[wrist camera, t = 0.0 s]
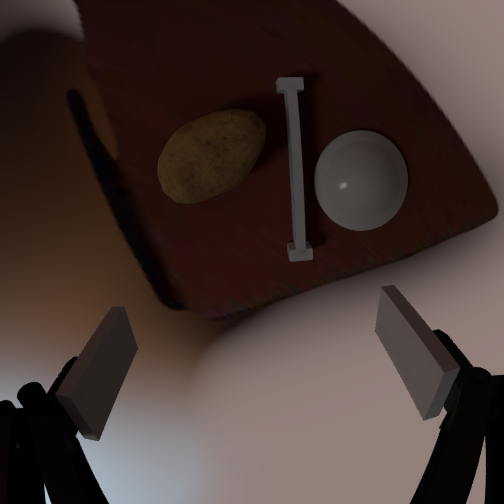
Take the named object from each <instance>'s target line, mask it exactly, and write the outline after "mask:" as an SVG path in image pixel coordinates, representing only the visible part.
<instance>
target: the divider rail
mask: <svg viewBox="0 0 504 504" xmlns="http://www.w3.org/2000/svg"><path fill="white" fill-rule="evenodd" d="M276 87H277V94H279V93H284V99H285V110H286V122H287V135H288V149H289V164H290V180H291V198H292V217H293V240H294V242H289V243H287V249H288V256H289V259H290V262H291V261H303V260H313V253H312V247H311V245H310V243H309V241H306V240H305V209H304V186H303V167H302V151H301V136H300V122H299V110H298V98H297V93H300V92H302V91H303V90H304V83H303V77H289V78H278V79H277V81H276Z"/></svg>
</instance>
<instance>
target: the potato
mask: <svg viewBox="0 0 504 504" xmlns="http://www.w3.org/2000/svg"><path fill="white" fill-rule="evenodd" d="M265 141H266V124H265V123H264V122H263V121H262V120H261V119H260V118H259V117H258V116H257V115H256V114H255V113H254V112H253V111H250V110H242V109H233V108H231V109H226V110H221V111H217V112H213V113H211V114H208V115H206V116H203V117H200V118H198V119H196V120H194V121H192V122H190V123H188V124H186V125H184V126H183V127H181V128H180V129H178V130H177V131H175V132H174V134H173V135H172V136H171V138H170V139H169V140H168V142H167V143H166V145H165V147H164V149H163V151H162V153H161V155H160V157H159V159H158V174H157V175H158V178H159V181H160V183H161V186H162V189H163V191H164V192H165V193H166V194H167V195H168V196H170V197H171V198H172V199H173V200H174V201H175V202H177V203H191V204H194V203H197V202H200V201H204V200H207V199H209V198H212V197H214V196H216V195H219V194H221V193H223V192H226V191H229V190H231V189H234V188H236V187H237V186H238V185H239V184H240V183H241V182H243V181H244V180H245V179H246V178H247V176H248V174H249V173H250V171H251V169H252V168H253V166H254V164H255V162H256V161H257V159H258V157H259V156H260V154H261V151H262V148H263V146H264V143H265Z"/></svg>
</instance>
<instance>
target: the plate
mask: <svg viewBox="0 0 504 504" xmlns="http://www.w3.org/2000/svg"><path fill="white" fill-rule="evenodd" d="M407 187H408V173H407V168H406V164H405V161H404V159H403V157H402V155H401V153H400V151H399V150H398V149H397V147H396V146H395V145H394V144H393V143H392V142H391V141H390V140H388V139H387V138H385V137H384V136H382V135H380V134H378V133H375V132H371V131H363V130H360V131H351V132H347V133H344V134H342V135H340V136H338V137H336V138H335V139H333V140H332V141H331V142H330V143H329V144H328V145H327V146H326V147H325V148H324V150H323V151H322V153H321V154H320V156H319V158H318V160H317V163H316V166H315V171H314V190H315V194H316V197H317V200H318V202H319V204H320V206H321V208H322V209H323V211H324V212H325V213H326V214H327V215H328V216H329V217H330V219H332V220H333V221H334V222H335V223H337V224H339V225H340V226H342V227H345V228H347V229H351V230H357V231H364V230H370V229H374V228H377V227H379V226H381V225H383V224H385V223H386V222H388V221H389V220H390V219H391V218H392V217H393V216H394V215H395V214H396V213H397V212H398V210H399V209H400V207H401V205H402V203H403V201H404V199H405V196H406V192H407Z"/></svg>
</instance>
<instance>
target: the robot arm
mask: <svg viewBox="0 0 504 504" xmlns="http://www.w3.org/2000/svg"><path fill="white" fill-rule="evenodd" d="M375 332H376V334H377V335H378V337H379V339H380V341H381V342H382V344H383V346H384V347H385V349H386V351H387V353H388V355H389V356H390V358H391V360H392V362H393V364H394V366H395V367H396V369H397V371H398V373H399V375H400V377H401V378H402V380H403V382H404V384H405V386H406V387H407V390H408V391H409V393H410V395H411V397H412V399H413V401H414V403H415V405H416V407H417V409H418V411H419V413H420V414H421V417H422V419H423V420H427V419H430V418H433V417H436V416H439V414H440V412H441V410H442V408H443V406H444V408H445V410H446V411H447V414H446V416H445V418H444V419H443V421H442V423H441V425H440V427H439V428H440V429H441V430H440V433H439V436H438V439H437V441H436V444H435V447H434V450H433V452H432V455H431V457H430V460H429V462H428V465H427V467H426V470H425V472H424V474H423V476H422V479H421V481H420V483H419V485H418V488H417V490H416V492H415V494H414V496H413V498H412V500H411V502H410V504H466V502H467V499H468V496H469V493H470V490H471V487H472V483H473V480H474V477H475V474H476V470H477V466H478V463H479V458H480V455H481V450H482V446H483V441H484V437H485V443H486V488H485V504H504V375H493V376H491V374H490V373H489V372H488V371H487V370H486V369H483V368H481V367H473V366H472V364H471V363H470V362H469V361H468V359H467V358H466V357H465V356H464V354H463V353H462V352H461V351H460V349H458V347H457V346H456V344H455V343H453V341H452V339H450V337H449V336H448V335H447V334H446V333H444V332H442V331H441V330H439V329H437V330H433V331H432V330H431V329H430V328H429V327H428V325H427V324H426V323H425V321H424V320H423V319H422V318H421V316H420V315H419V314H418V313H417V312H416V311H415V309H414V308H413V307H412V306H411V305H410V303H409V302H408V301H407V300H406V299H405V297H404V296H403V295H402V294H401V293H400V292H399V290H398V289H397V288H396V287H395V286H394V285H390V286H382V287H381V289H380V298H379V306H378V313H377V321H376V327H375ZM137 350H138V347H137V344H136V341H135V338H134V335H133V333H132V329H131V326H130V323H129V320H128V317H127V313H126V310H125V307H111V309H110V311H109V312H108V313H107V315H106V316H105V318H104V319H103V321H102V322H101V323H100V325H99V326H98V328H97V329H96V331H95V332H94V334H93V335H92V337H91V338H90V340H89V341H88V343H87V344H86V346H85V347H84V349H83V350H82V352H81V353H80V355H79V357H73V358H72V359H70V360H69V361H68V362H67V363H66V364H65V366H64V367H63V369H62V372H60V374H59V375H58V378H56V380H55V381H54V383H53V384H52V386H51V388H50V389H49V391H48V393H46V392H45V390H44V389H43V387H42V385H41V384H40V383H38V382H31V383H28V384H26V385H24V386H23V387H22V388H21V389H20V390H19V392H18V393H17V399H18V400H19V402H20V403H21V405H22V406H23V408H15V406H14V405H13V403H12V402H11V401H9V400H3V401H0V504H46V501H45V489H44V484H45V487H46V490H47V493H48V496H49V498H50V501H51V504H109V503H108V501H107V499H106V497H105V495H104V494H103V492H102V490H101V488H100V486H99V484H98V482H97V480H96V478H95V476H94V474H93V472H92V470H91V468H90V465H89V463H88V461H87V459H86V457H85V454H84V452H83V450H82V447H81V445H80V443H79V440H78V439H77V438H76V434H77V432H78V430H79V432H80V433H81V435H82V436H83V437H84V438H86V439H90V440H95V441H99V440H100V437H101V435H102V432H103V430H104V427H105V424H106V422H107V419H108V417H109V415H110V412H111V410H112V407H113V405H114V403H115V400H116V398H117V395H118V393H119V391H120V388H121V386H122V384H123V381H124V379H125V376H126V374H127V372H128V370H129V368H130V365H131V363H132V361H133V358H134V356H135V354H136V352H137Z"/></svg>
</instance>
